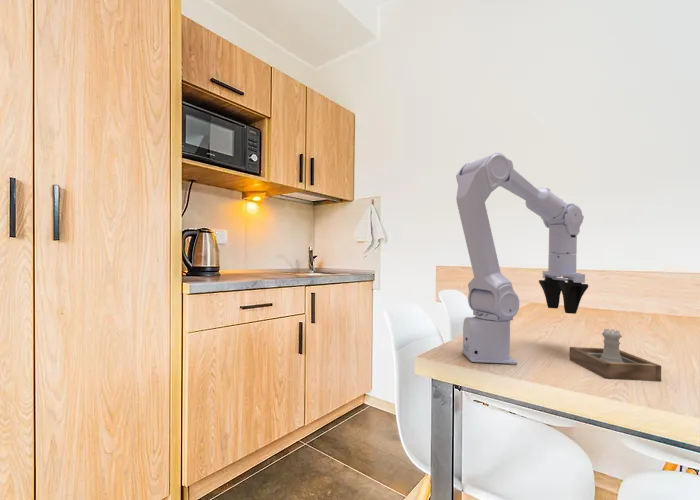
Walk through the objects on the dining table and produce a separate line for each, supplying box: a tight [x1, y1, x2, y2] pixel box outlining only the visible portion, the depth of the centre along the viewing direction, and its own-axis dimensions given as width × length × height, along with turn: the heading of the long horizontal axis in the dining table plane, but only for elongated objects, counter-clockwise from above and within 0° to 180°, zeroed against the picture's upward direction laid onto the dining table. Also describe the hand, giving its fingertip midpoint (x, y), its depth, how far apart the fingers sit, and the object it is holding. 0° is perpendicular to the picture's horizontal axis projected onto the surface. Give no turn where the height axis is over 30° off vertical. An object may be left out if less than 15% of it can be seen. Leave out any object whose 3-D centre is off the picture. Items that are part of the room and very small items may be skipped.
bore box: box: [568, 346, 662, 382], centre depth 69 cm, size 10×12×3 cm
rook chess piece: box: [599, 328, 624, 363], centre depth 69 cm, size 4×4×8 cm
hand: (561, 310), depth 81 cm, fingers open, 7 cm apart
